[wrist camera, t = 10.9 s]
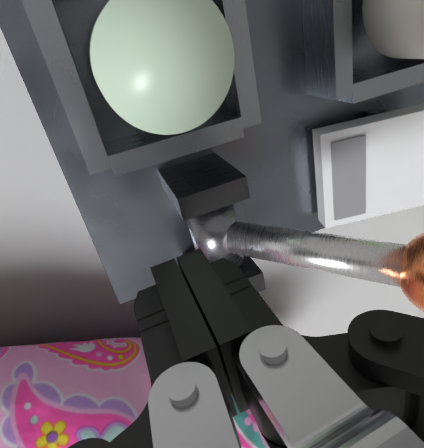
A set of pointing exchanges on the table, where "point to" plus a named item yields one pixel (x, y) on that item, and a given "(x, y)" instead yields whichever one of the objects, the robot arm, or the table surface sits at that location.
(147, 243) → the console
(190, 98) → the button sage
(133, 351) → the pencil case
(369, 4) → the button cream
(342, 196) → the block
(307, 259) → the toggle lever
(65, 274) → the table surface
